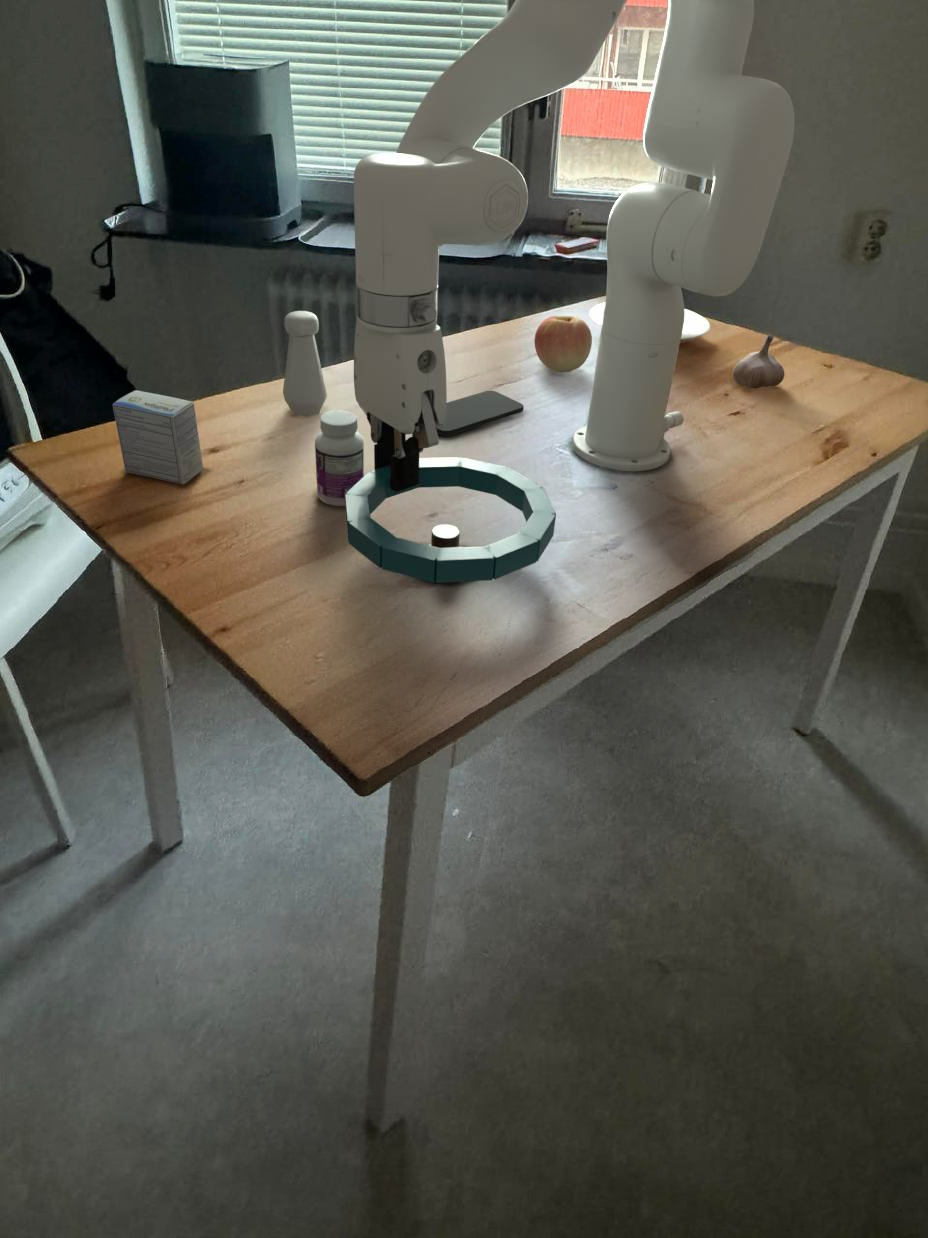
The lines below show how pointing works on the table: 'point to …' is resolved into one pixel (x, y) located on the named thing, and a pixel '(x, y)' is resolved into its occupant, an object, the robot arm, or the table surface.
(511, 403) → the phone
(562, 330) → the apple
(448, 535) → the peg stand
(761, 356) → the garlic bulb
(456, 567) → the ring
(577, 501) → the table surface
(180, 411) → the medicine box
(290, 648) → the table surface
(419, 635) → the table surface
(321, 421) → the pill bottle
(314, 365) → the salt shaker
